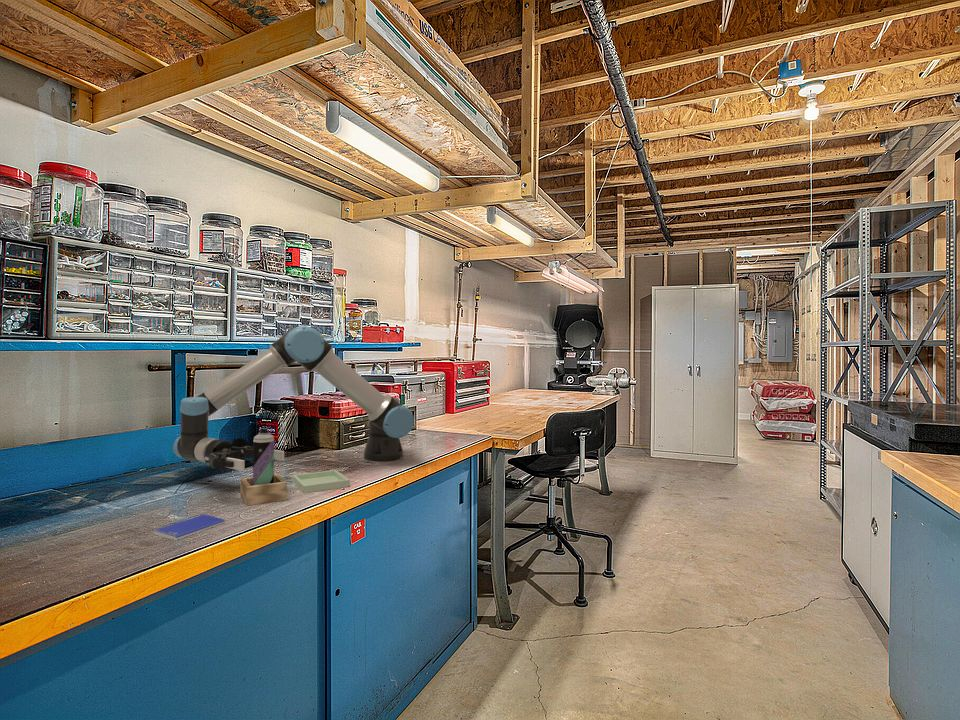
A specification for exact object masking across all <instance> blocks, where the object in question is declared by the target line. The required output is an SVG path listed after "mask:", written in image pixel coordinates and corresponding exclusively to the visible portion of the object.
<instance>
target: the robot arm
mask: <svg viewBox="0 0 960 720" xmlns="http://www.w3.org/2000/svg"><path fill="white" fill-rule="evenodd" d="M295 363H298V364H299V365H301V367H303V368H304V369H305V370H306V371H308V372H309V373H310V372H311V373H312V372H313V373H314V372H316V373H317V374H318V375H320V376H321V377H322V378H324V379H325V380H326V381H327V382H328V383H330V384H331V385H332V386H333V387H334V388H336V389H337V390H338V391H340V392H341V393H342V394H343V395H345V397H347V399H349V400H351V401H352V403H354V404H355V405H357V406H358V407H359V408H360V409H361V410H363V411H364V412H365V413H366V414H367V416H368V417H367V418H368V439H367V441H366V444H365V448H364V450H363V458H364V459H366V460H370V461H376V460H388V461H392V460H391V459H396V460H398V459H397V458H400V457H402V456H403V457H404V450H403V445H402V443H401V440H400V438H404V437H406V436H407V435H408V434H410V432H411V431H412V429H413V427H414V423H415V419H414V418H415V417H414V414H413V412H412V410H410V409H409V408H408V407H407V406H403V404H401V403H400V398H398V397H393V396H392V395H390V394H387V395H384V394H383V393H382V392H381V391H379V390H378V389H377V388H376V387H375V386H374V385H372V384H371V383H370V382H368V381H367V380H366V379H365V378H364V377H363V376H362V375H360V373H358V372H356V370H355V369H354V368H352V367H351V366H349V365H348V364H347V363H346V362H345V361H344V360H342V358H340V357H339V356H338V355H337V354H335V352H334V347H333V345H332V344H331V343H330V342H328V341H327V340H326V339H325V338H324V337H323V336H322V334H321V333H320V331H318V330H317V329H316V328H313V327H311V326H307V325H305V326H304V325H301V326H296V327H293V328H290V329H288V331H286V332H285V333H284V334H283V335H281V337H279V338H278V339H277V340H275V341H273V343H271V344H270V345H269V348H268V350H266V351H264V352H263V353H261V354H260V355H259V356H257V357H255V358H254V359H251V360H250V361H249V362H248V363H246V364H244V365H243V366H242V367H240V368H238V369H237V370H236V371H234V372H232V373H231V374H229V375H227V376H226V377H225V378H223V379H222V380H219V382H217V383H215V384H214V385H212V386H211V387H209V388H208V389H206V390H204V392H202V393H200V394H199V395H197V396H191V397H184V398H182V399H181V400H180V408H179V412H180V434H179V436H178V437H177V438H176V439H175V441H174V443H173V445H172V449H173V453H174V454H175V455H176V456H177V457H179V458H180V459H184V460H186V461H194V462H199V463H203V464H204V463H205V464H206V465H207V466H210V467H211V468H212V469H213V470H216V469H218V467H220V468H219V469H220V471H225V470H226V469H231V470H235V471H241V472H243V471H245V468H246V467H245V460H247V459H248V458H253V446H243V447H233V446H232V444H231V443H232V442H230V441H229V440H224V439H218V438H214V437H213V438H212V437H209V417H210V416H212V415H213V414H214V413H216V412H217V411H219V410H220V409H222V408H224V406H226V405H228V404H229V403H230V402H232V401H234V400H235V399H237V398H238V397H240V396H241V395H242V394H244V393H245V392H247V391H249V390H250V389H251V388H253V387H254V386H256V385H257V384H259V383H260V382H262V381H264V380H265V379H266V378H268V377H269V376H271V375H273V374H274V373H275V372H277V371H278V370H280V369H281V368H288V367H289V366H291V365H292V364H295ZM242 453H243V457H241V455H242ZM403 457H402V458H403ZM239 459H243V460H239ZM400 459H401V458H400ZM275 460H276V461H285V451H284V450H278V449H274V461H275Z"/></svg>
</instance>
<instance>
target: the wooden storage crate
mask: <svg viewBox="0 0 960 720" xmlns="http://www.w3.org/2000/svg"><path fill="white" fill-rule="evenodd" d="M287 487H288V484H287V481H286V480H285V479H284V478H283V477H282V476H281V475H280V474H279V473H277V474H275V473H274V483H270V484H262V485H255V486H253V476H251V477H244V478H240V498H241V500H243V502H244V504H245V506H246V507H247V506H249V505H250V506H256V505H262V503H263V504H268V503H269V502H270V503H277V502H283V501H282V500H284V501H287V497H288V495H287V494H288V492H287V491H288V490H287V489H288V488H287ZM276 501H277V502H276ZM270 503H269V504H270ZM250 506H249V507H250Z"/></svg>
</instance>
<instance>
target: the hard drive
mask: <svg viewBox="0 0 960 720" xmlns="http://www.w3.org/2000/svg"><path fill="white" fill-rule="evenodd" d="M224 522H225V523H226V520H225V519H224V518H221V517H215V516H212V515H208V514H201V515H197V516H195V517H191V518H188V519H185V520H182V521H181V520H180V521H179V522H176V523H172V524H169V525H166V526H163V527H160V528H156V529H154V530H153V533H152V534H153V535H155V536H158V535H159V537H162V538H165V537H166V539H169V538H170V539H169V540H172V539H174V540H173V541H175V540H177V541H179V540H178V539H180V540H182V539H185V538H187V537H186V536H188V537H190V536H189V535H191V536H193V535H192V534H194V535H196V534H199V533H201V532H200V531H202V532H204V531H203V530H205V529H208V528H210V529H212V528H211V527H213V526H216V525H218V524H221V523H224ZM225 523H224V524H225ZM216 527H217V526H216ZM213 528H214V527H213ZM208 530H209V529H208ZM205 531H206V530H205ZM198 532H199V533H198ZM195 533H196V534H195ZM184 537H185V538H184ZM181 538H182V539H181Z"/></svg>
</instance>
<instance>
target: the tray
mask: <svg viewBox="0 0 960 720" xmlns="http://www.w3.org/2000/svg"><path fill="white" fill-rule="evenodd" d="M291 476H292V477H291V479H292V480H291V482H292V483H293V484H294V485H295V486H296V487H297V488H298V489H299V490H300V491H301V492H302V493H303V494H307V493H315V492H320V491H321V492H322V490H323V491H329V489H330V490H334V489H336V488H337V489H342V487H344V488H349V487H348V486H350V487H351V479H350V478H348V477H347V476H346V475H343V474H342V473H341V472H340V471H338V470H336V469H332V470H331V469H330V470H323V471H322V470H321V471H317V472H308V473H307V472H306V473H299V474H292V475H291Z"/></svg>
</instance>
